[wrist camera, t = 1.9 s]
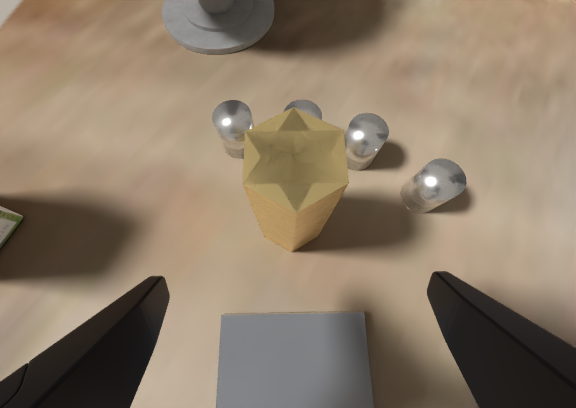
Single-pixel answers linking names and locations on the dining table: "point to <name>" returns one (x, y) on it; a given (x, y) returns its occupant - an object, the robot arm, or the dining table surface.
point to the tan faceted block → (294, 175)
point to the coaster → (294, 361)
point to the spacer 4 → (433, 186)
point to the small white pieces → (8, 223)
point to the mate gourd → (217, 23)
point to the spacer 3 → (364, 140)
